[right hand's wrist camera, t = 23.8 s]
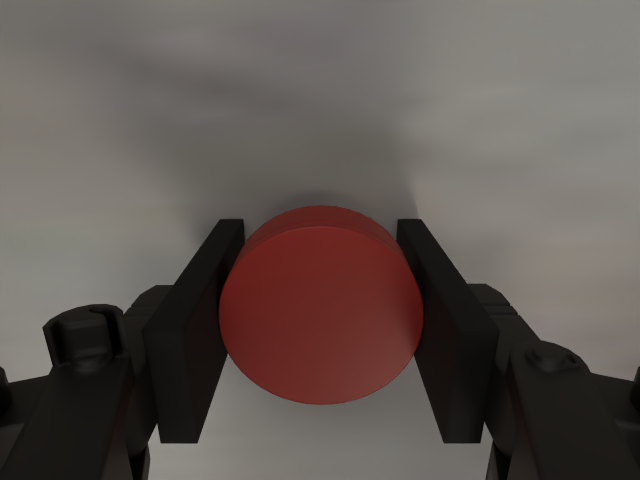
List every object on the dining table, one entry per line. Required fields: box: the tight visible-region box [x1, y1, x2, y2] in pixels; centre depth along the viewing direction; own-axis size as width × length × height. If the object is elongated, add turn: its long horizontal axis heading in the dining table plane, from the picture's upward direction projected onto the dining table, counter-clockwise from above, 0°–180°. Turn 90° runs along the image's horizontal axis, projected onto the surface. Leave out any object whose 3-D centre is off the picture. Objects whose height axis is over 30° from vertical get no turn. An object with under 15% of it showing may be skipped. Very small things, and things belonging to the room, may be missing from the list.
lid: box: [218, 205, 424, 405], centre depth 11 cm, size 5×5×2 cm
